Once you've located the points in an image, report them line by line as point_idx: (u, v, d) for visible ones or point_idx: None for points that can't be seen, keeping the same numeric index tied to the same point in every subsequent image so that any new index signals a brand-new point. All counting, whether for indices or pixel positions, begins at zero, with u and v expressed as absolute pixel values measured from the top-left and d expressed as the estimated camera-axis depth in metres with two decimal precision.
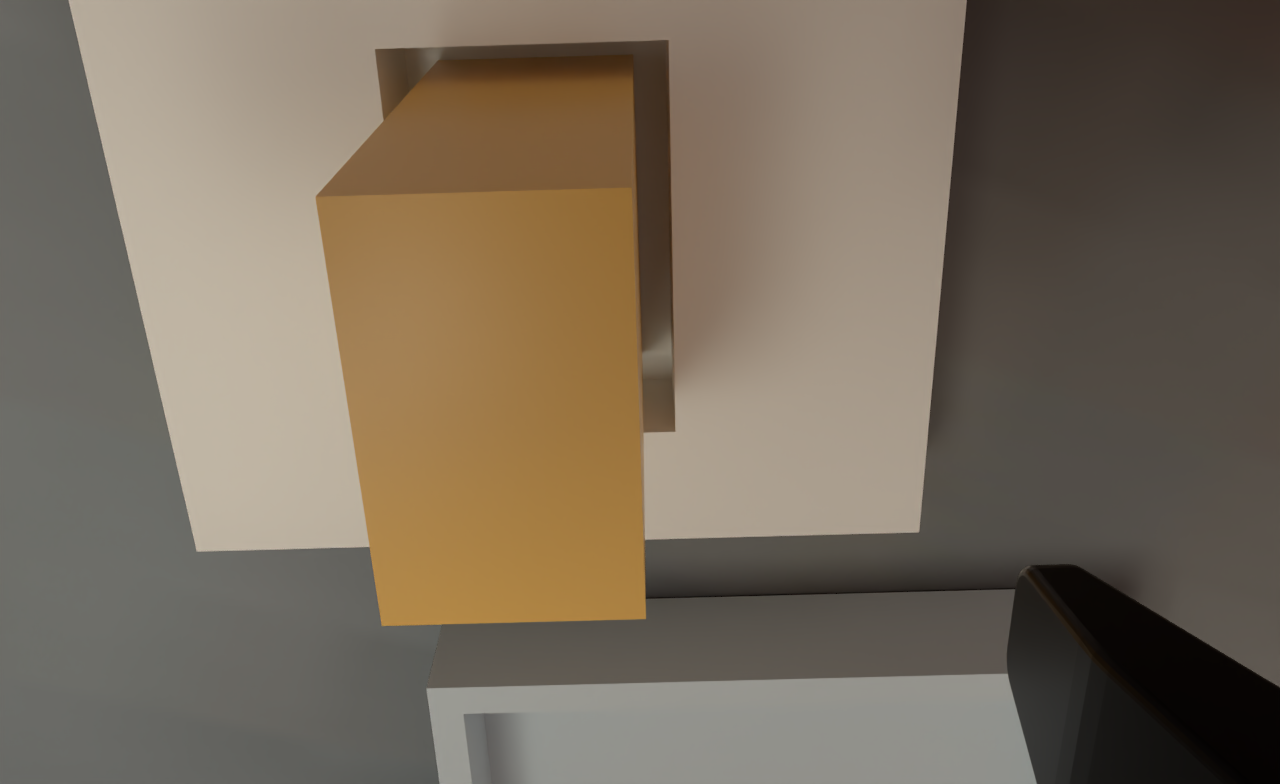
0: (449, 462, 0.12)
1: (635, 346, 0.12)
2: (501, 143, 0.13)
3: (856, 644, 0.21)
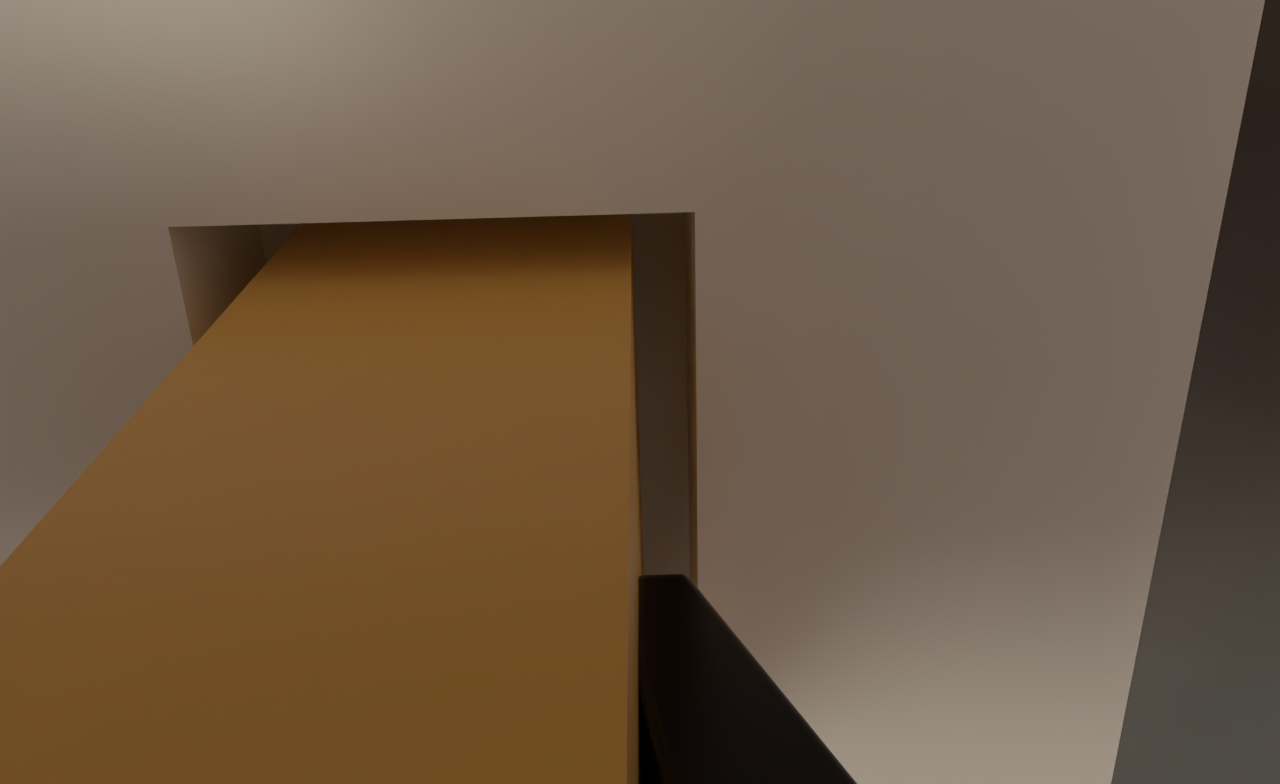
0: None
1: None
2: (339, 529, 0.06)
3: None
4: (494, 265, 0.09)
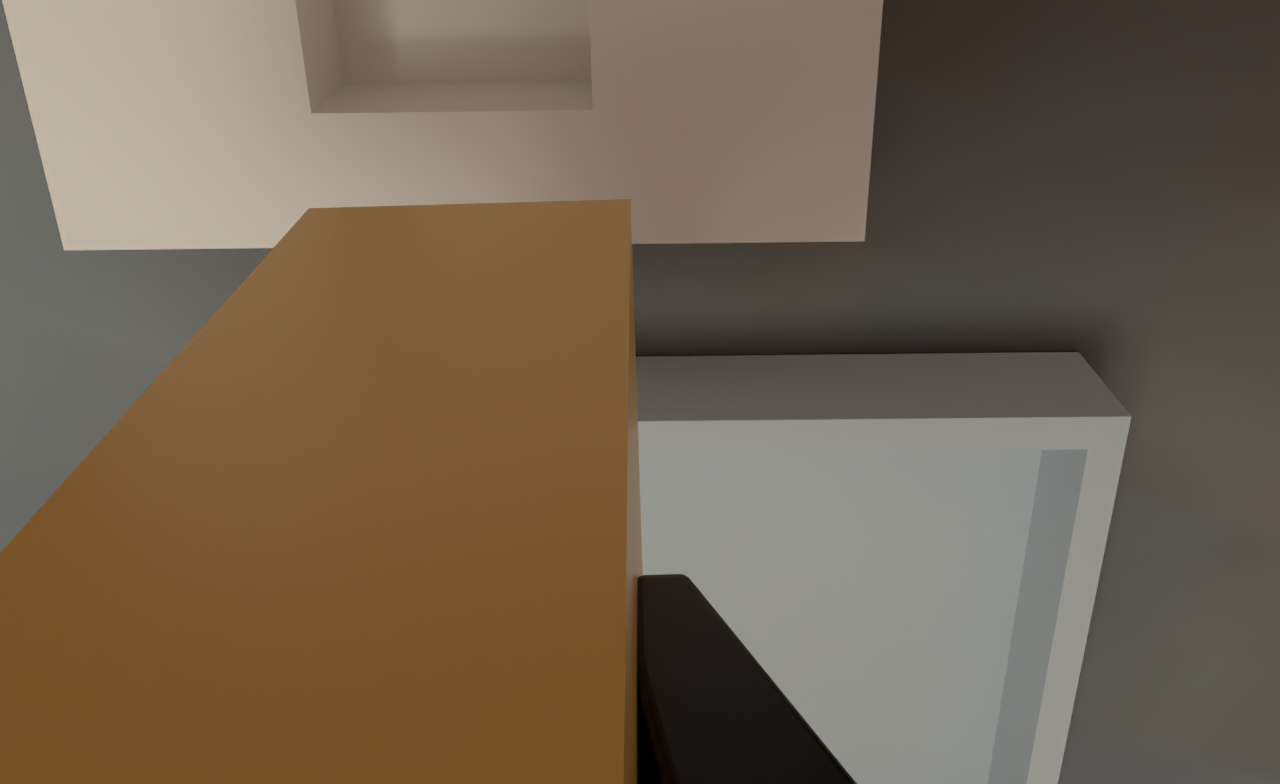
0: None
1: None
2: (335, 522, 0.06)
3: (798, 394, 0.19)
4: (492, 260, 0.09)
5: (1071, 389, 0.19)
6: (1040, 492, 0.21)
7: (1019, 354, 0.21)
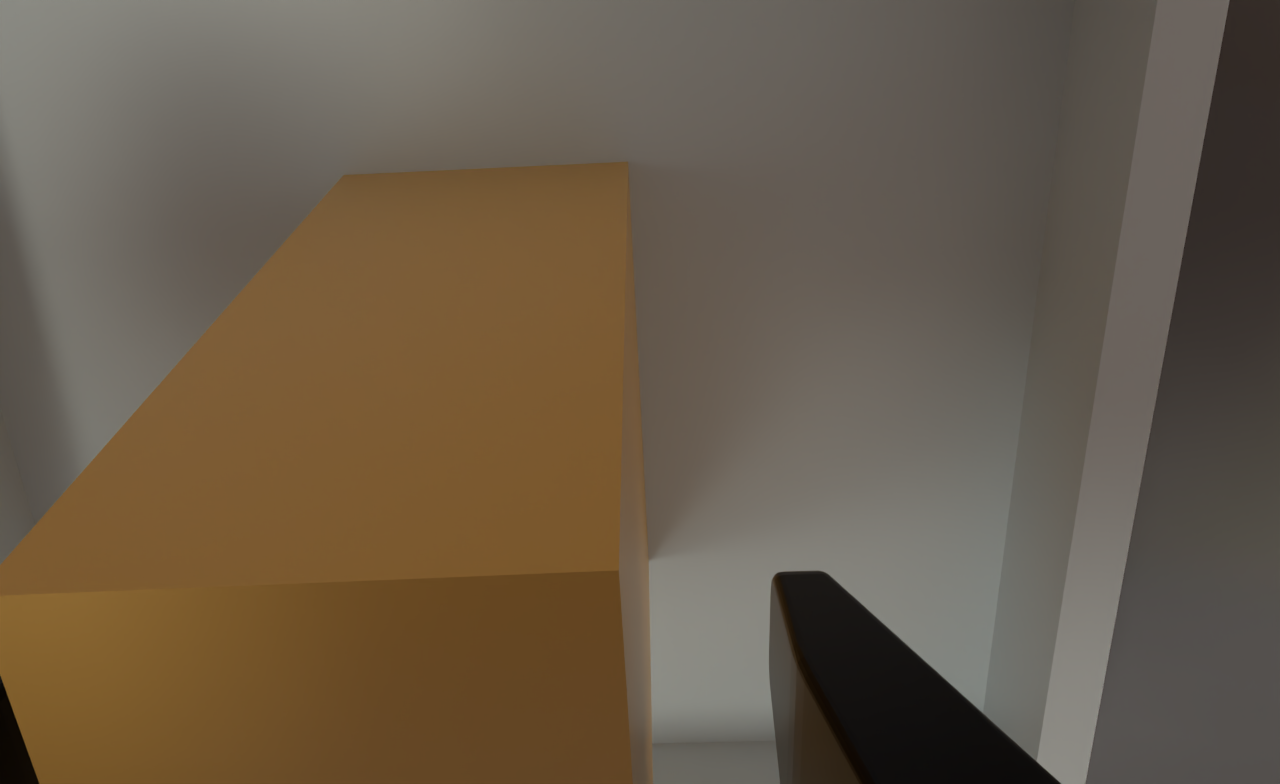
0: None
1: None
2: (388, 400, 0.07)
3: None
4: (507, 212, 0.11)
5: None
6: (1076, 49, 0.11)
7: None
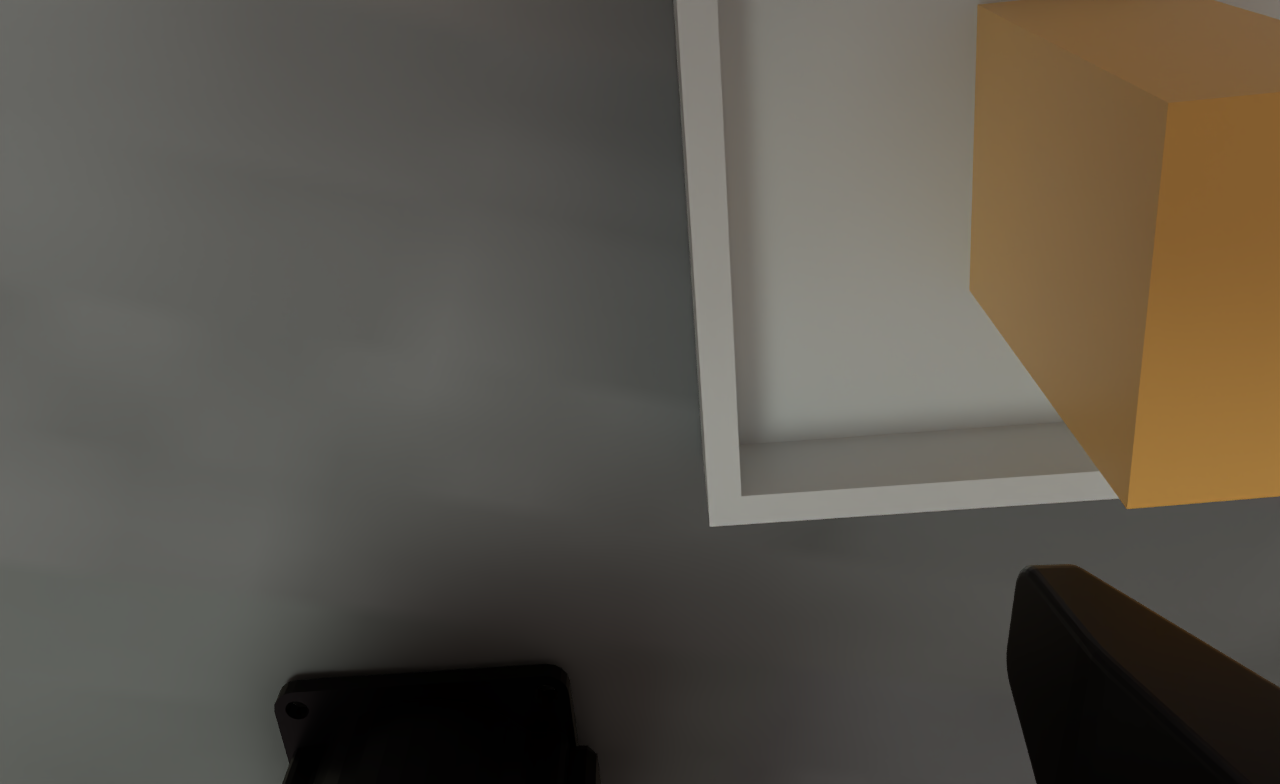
0: (1227, 348, 0.13)
1: None
2: (1234, 55, 0.14)
3: None
4: (1134, 6, 0.17)
5: None
6: None
7: None
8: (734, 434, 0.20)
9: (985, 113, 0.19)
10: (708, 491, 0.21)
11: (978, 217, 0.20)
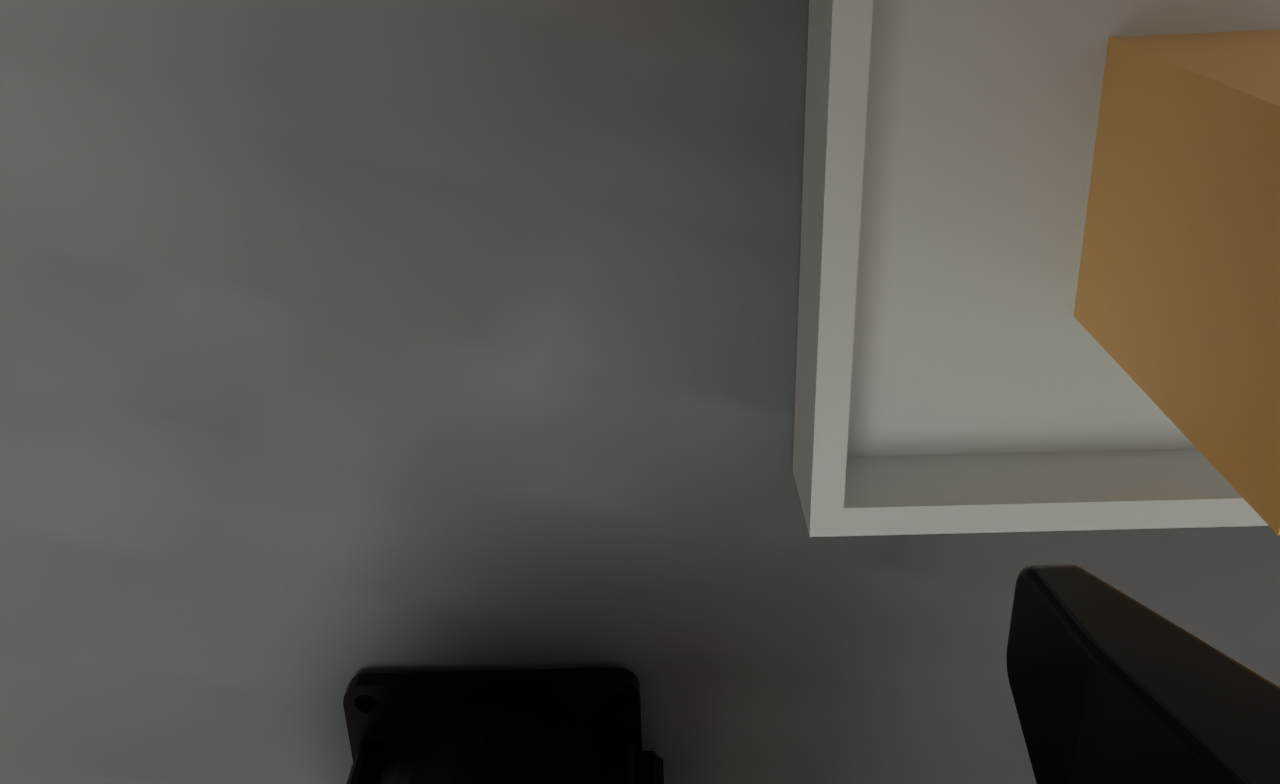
0: None
1: None
2: None
3: None
4: (1272, 47, 0.18)
5: None
6: None
7: None
8: (843, 446, 0.20)
9: (1110, 143, 0.19)
10: (811, 502, 0.21)
11: (1092, 245, 0.20)
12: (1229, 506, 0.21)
